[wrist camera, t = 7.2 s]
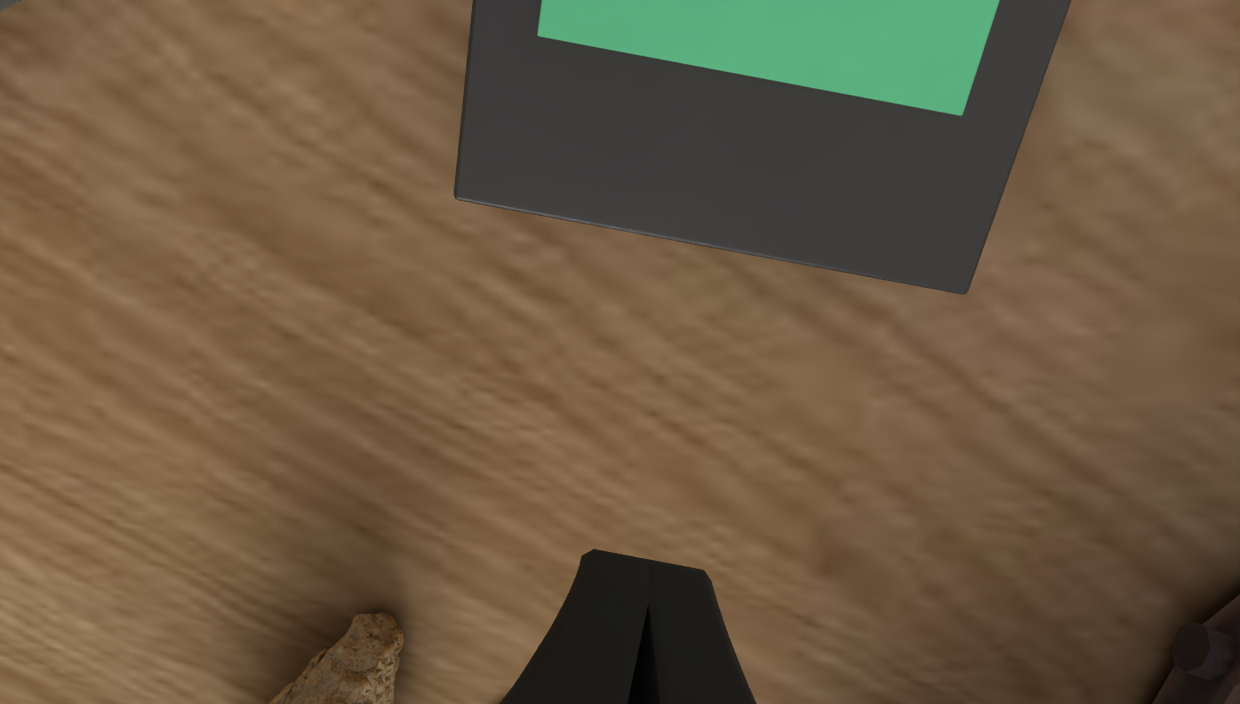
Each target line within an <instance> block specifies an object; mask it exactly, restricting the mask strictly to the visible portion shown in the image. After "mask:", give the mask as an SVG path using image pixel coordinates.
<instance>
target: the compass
mask: <svg viewBox="0 0 1240 704" xmlns="http://www.w3.org/2000/svg"><path fill="white" fill-rule="evenodd" d="M1171 647H1172V653H1173V658H1174V664H1175V666H1174V667H1173V669H1172V671H1171V673H1170V674H1169V676H1168V678H1167V679H1166V681H1165V683H1164V685H1163V686H1162V688H1161V690H1160V691H1159V693H1158V695H1157V697H1156V698H1155V700H1154V702H1153V703H1152V704H1240V595H1238V596H1237V597H1236V598H1235V599H1233V600H1232V601H1231V602H1230V603H1228V604H1227V605H1226V606H1225V607H1224V608H1222V609H1221V610H1220V611H1219V612H1217V613H1216V614H1215V615H1214V616H1212V617H1211V618H1210V619H1209V620H1208V621H1206V622H1205V623H1204V624H1203V625H1202V624H1200V623H1197V622H1194V621H1193V622H1191V623H1189V624H1187V625H1185V626H1183V627H1182V628H1180V629H1179V630H1178V632H1177V635H1176V637H1175V639H1174V642H1173V644H1172V646H1171Z"/></svg>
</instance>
